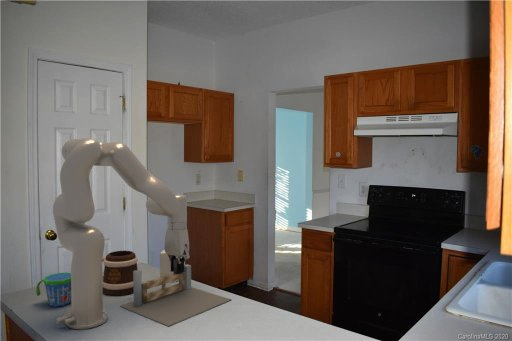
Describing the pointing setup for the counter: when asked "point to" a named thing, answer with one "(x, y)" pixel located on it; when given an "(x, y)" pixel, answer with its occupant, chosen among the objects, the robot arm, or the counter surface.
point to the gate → (163, 285)
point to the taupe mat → (177, 306)
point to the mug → (119, 272)
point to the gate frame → (138, 284)
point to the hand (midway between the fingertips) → (177, 271)
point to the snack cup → (57, 288)
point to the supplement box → (165, 265)
